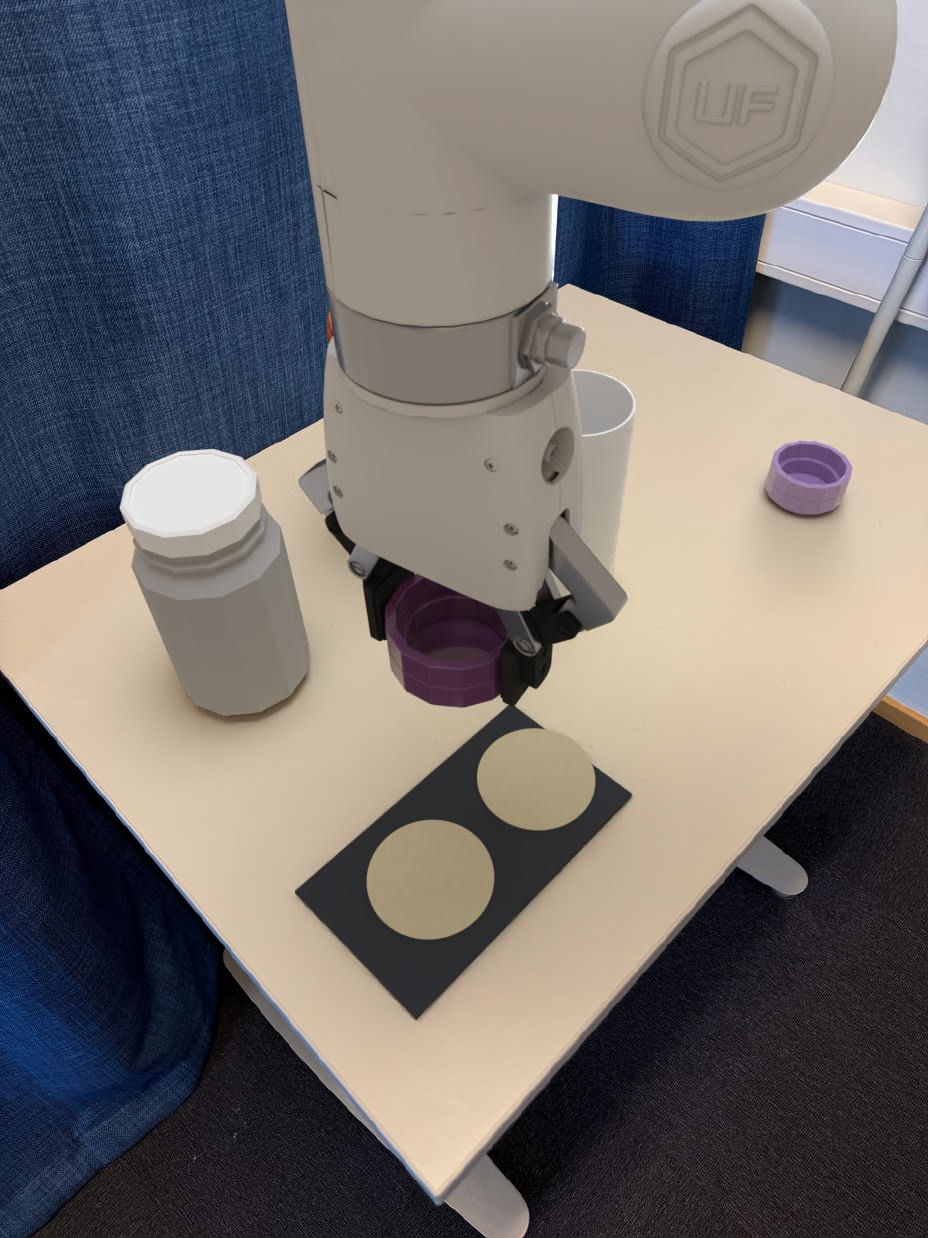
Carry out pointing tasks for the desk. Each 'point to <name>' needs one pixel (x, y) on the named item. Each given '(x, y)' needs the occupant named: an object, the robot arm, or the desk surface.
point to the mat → (462, 855)
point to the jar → (217, 580)
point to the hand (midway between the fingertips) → (456, 650)
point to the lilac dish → (808, 477)
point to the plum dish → (444, 644)
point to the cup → (603, 460)
